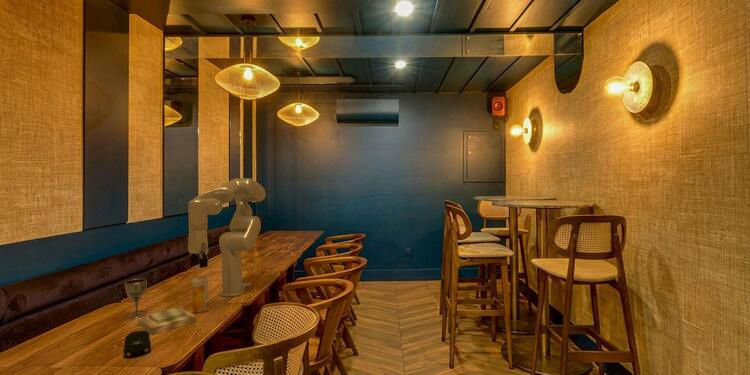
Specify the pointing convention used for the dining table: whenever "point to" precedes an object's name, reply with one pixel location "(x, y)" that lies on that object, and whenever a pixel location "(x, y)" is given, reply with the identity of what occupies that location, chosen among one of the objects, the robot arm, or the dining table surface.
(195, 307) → the glass of juice
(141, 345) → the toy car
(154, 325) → the riser
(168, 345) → the dining table surface
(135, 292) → the wine glass
